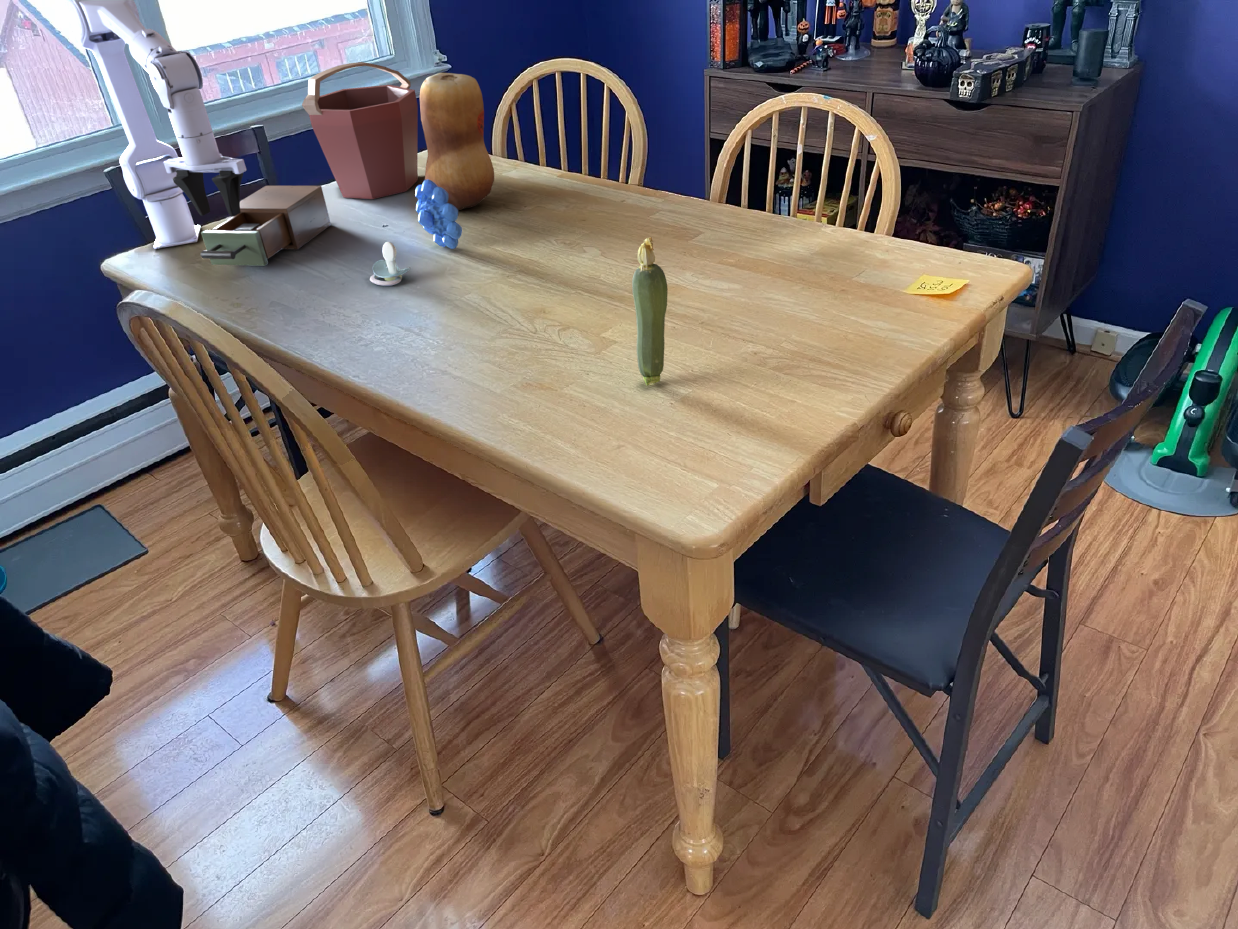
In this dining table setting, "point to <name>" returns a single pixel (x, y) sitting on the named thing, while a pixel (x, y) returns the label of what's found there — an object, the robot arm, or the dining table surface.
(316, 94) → the bucket
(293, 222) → the cabinet
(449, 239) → the grapes
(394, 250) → the pacifier
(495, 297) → the dining table surface
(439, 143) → the butternut squash
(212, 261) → the drawer
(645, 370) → the vegetable
